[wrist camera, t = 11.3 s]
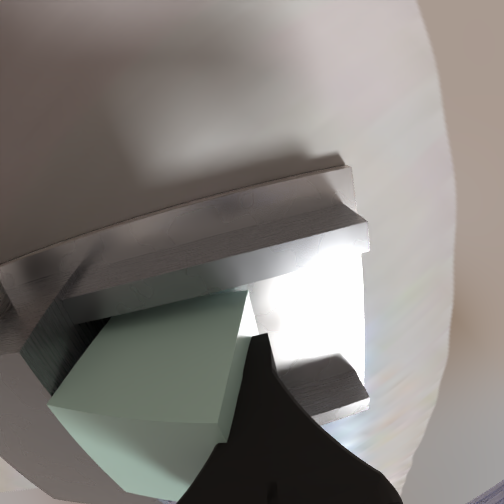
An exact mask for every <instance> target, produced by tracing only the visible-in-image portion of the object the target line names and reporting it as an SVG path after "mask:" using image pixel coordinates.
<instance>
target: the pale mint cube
mask: <svg viewBox="0 0 504 504" xmlns="http://www.w3.org/2000/svg"><path fill="white" fill-rule="evenodd" d="M255 335H259V334H258V329H257V325H256V321H255V317H254V313H253V309H252V305H251V300H250V296H249V292H248V290H244V291H236V292H228V293H220V294H211V295H203V296H198V297H194V298H189V299H185V300H181V301H177V302H173V303H169V304H164V305H160V306H156V307H151V308H147V309H143V310H138V311H134V312H130V313H125V314H121V315H116V316H112V317H111V319H110V320H109V321H108V322H107V324H106V325H105V326H104V327H103V329H102V330H101V331H100V333H99V334H98V335H97V336H96V338H95V339H94V340H93V342H92V343H91V344H90V346H89V347H88V348H87V349H86V351H85V352H84V353H83V355H82V356H81V357H80V359H79V360H78V361H77V363H76V364H75V365H74V367H73V368H72V370H71V371H70V372H69V374H68V375H67V376H66V378H65V379H64V380H63V382H62V383H61V385H60V386H59V387H58V389H57V390H56V392H55V393H54V394H53V396H52V397H51V399H50V400H49V402H48V403H47V404H46V405H47V406H48V407H49V409H50V410H51V411H52V412H53V414H54V415H55V416H56V418H57V419H58V420H59V421H60V423H61V424H62V425H63V426H64V428H65V429H66V430H67V431H68V432H69V434H70V435H71V436H72V437H73V438H74V439H75V441H76V442H77V443H78V444H79V445H80V446H81V447H82V448H83V450H84V451H85V452H86V453H87V454H88V455H89V456H90V457H91V458H92V459H93V460H94V461H95V462H96V463H97V464H98V465H99V466H100V467H101V469H102V470H103V471H104V472H105V473H107V474H108V475H109V476H110V477H111V478H112V479H113V480H114V481H115V482H116V483H117V484H118V485H119V486H120V487H121V488H122V489H123V490H124V491H126V492H129V493H133V494H138V495H143V496H148V497H153V498H158V499H164V500H170V501H177V502H178V501H179V499H180V498H181V497H182V496H183V494H184V493H185V492H186V491H187V489H188V488H189V487H190V485H191V484H192V483H193V481H194V480H195V478H196V477H197V475H198V474H199V472H200V471H201V469H202V468H203V466H204V464H205V463H206V461H207V460H208V458H209V456H210V454H211V453H212V451H213V449H214V447H215V445H216V444H218V443H227V440H228V437H229V433H230V429H231V425H232V421H233V417H234V412H235V408H236V403H237V398H238V394H239V390H240V386H241V382H242V378H243V369H244V365H245V360H246V356H247V351H248V347H249V344H250V340H251V337H252V336H255Z"/></svg>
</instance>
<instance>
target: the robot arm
mask: <svg viewBox="0 0 504 504" xmlns="http://www.w3.org/2000/svg"><path fill="white" fill-rule="evenodd" d="M168 504H403V502H402V500H401V497H400V496H399V494H398V492H397V491H396V489H395V488H394V487H393V486H392V484H391V483H390V482H389V481H388V480H387V478H386V477H385V476H384V475H383V474H382V473H381V472H380V471H378V470H376V469H375V468H373V467H372V466H370V465H368V464H367V463H366V462H364V461H363V460H361V459H360V458H358V457H357V456H355V455H354V454H353V453H351V452H350V451H349V450H347V449H346V448H345V447H344V446H342V445H341V444H340V443H339V442H338V441H336V440H335V439H334V438H333V437H332V436H331V435H330V434H328V433H327V432H326V431H325V430H324V429H323V428H322V427H321V426H320V425H319V424H318V423H317V422H316V421H315V420H314V419H313V418H312V417H311V416H310V415H309V414H308V413H307V412H306V411H305V410H304V409H303V408H302V406H301V405H300V404H299V403H298V402H297V401H296V399H295V398H294V397H293V396H292V394H291V393H290V392H289V390H288V389H287V388H286V386H285V385H284V384H283V382H282V381H281V379H280V378H279V376H278V372H277V368H276V364H275V360H274V356H273V352H272V348H271V344H270V340H269V336H268V333H264V334H260V335H255V336H252V337H251V340H250V344H249V347H248V351H247V356H246V360H245V365H244V369H243V378H242V382H241V386H240V390H239V394H238V398H237V403H236V408H235V412H234V417H233V421H232V425H231V429H230V433H229V437H228V440H227V443H218V444H216V445H215V447H214V449H213V451H212V453H211V454H210V456H209V458H208V460H207V461H206V463H205V464H204V466H203V468H202V469H201V471H200V472H199V474H198V475H197V477H196V478H195V480H194V481H193V483H192V484H191V485H190V487H189V488H188V489H187V491H186V492H185V493H184V494H183V496H182V497H181V498H180V499H179V501H178V502H177V501H170V500H168ZM466 504H504V480H502V481H501V482H499V483H498V484H496V485H495V486H494V487H492V488H491V489H489V490H488V491H486V492H484V493H483V494H481V495H480V496H478V497H477V498H475V499H473V500H472V501H470V502H468V503H466Z"/></svg>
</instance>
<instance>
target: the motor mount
mask: <svg viewBox="0 0 504 504" xmlns="http://www.w3.org/2000/svg"><path fill="white" fill-rule="evenodd" d="M369 251H370V244H369V230H368V221H366V220H365V219H364V218H362V217H361V216H360V215H358V214H357V207H356V198H355V190H354V182H353V174H352V167H350V166H348V165H343V166H338V167H333V168H328V169H323V170H318V171H313V172H309V173H304V174H300V175H295V176H291V177H286V178H282V179H277V180H273V181H269V182H265V183H260V184H256V185H252V186H248V187H244V188H240V189H236V190H232V191H228V192H224V193H221V194H217V195H213V196H209V197H205V198H202V199H198V200H194V201H191V202H187V203H183V204H180V205H176V206H173V207H169V208H166V209H162V210H159V211H156V212H152V213H149V214H145V215H142V216H139V217H136V218H132V219H129V220H126V221H123V222H119V223H116V224H113V225H110V226H107V227H104V228H101V229H98V230H95V231H92V232H89V233H86V234H83V235H80V236H77V237H74V238H71V239H68V240H65V241H62V242H59V243H57V244H54V245H51V246H48V247H45V248H43V249H40V250H37V251H34V252H32V253H29V254H26V255H24V256H21V257H18V258H16V259H13V260H11V261H8V262H6V263H3V264H0V456H1V457H2V458H3V459H4V460H5V461H6V462H7V463H8V464H10V465H11V466H12V467H13V468H14V469H16V470H17V471H18V472H19V473H20V474H22V475H23V476H24V477H25V478H27V479H28V480H29V481H30V482H32V483H33V484H34V485H36V486H37V487H38V488H40V489H41V490H43V491H44V492H45V493H47V494H48V495H50V496H51V497H52V498H54V499H58V500H64V501H71V502H79V503H86V504H168V500H164V499H158V498H153V497H148V496H143V495H138V494H133V493H129V492H126V491H124V490H123V489H122V488H121V487H120V486H119V485H118V484H117V483H116V482H115V481H114V480H113V479H112V478H111V477H110V476H109V475H108V474H107V473H105V472H104V471H103V470H102V469H101V467H100V466H99V465H98V464H97V463H96V462H95V461H94V460H93V459H92V458H91V457H90V456H89V455H88V454H87V453H86V452H85V451H84V450H83V448H82V447H81V446H80V445H79V444H78V443H77V442H76V441H75V439H74V438H73V437H72V436H71V435H70V434H69V432H68V431H67V430H66V429H65V428H64V426H63V425H62V424H61V423H60V421H59V420H58V419H57V418H56V416H55V415H54V414H53V412H52V411H51V410H50V409H49V407H48V406H47V405H46V404H47V403H48V402H49V400H50V399H51V397H52V396H53V394H54V393H55V392H56V390H57V389H58V387H59V386H60V385H61V383H62V382H63V380H64V379H65V378H66V376H67V375H68V374H69V372H70V371H71V370H72V368H73V367H74V365H75V364H76V363H77V361H78V360H79V359H80V357H81V356H82V355H83V353H84V352H85V351H86V349H87V348H88V347H89V346H90V344H91V343H92V342H93V340H94V339H95V338H96V336H97V335H98V334H99V333H100V331H101V330H102V329H103V327H104V326H105V325H106V324H107V322H108V321H109V320H110V319H111V317H112V316H116V315H121V314H125V313H130V312H134V311H138V310H143V309H147V308H151V307H156V306H160V305H164V304H169V303H173V302H177V301H181V300H185V299H189V298H194V297H198V296H203V295H211V294H220V293H228V292H236V291H244V290H248V292H249V296H250V300H251V305H252V309H253V313H254V317H255V321H256V325H257V329H258V334H259V335H260V334H264V333H268V336H269V340H270V344H271V348H272V352H273V356H274V360H275V364H276V368H277V372H278V376H279V378H280V379H281V381H282V382H283V384H284V385H285V386H286V388H287V389H288V390H289V392H290V393H291V394H292V396H293V397H294V398H295V399H296V401H297V402H298V403H299V404H300V405H301V406H302V408H303V409H304V410H305V411H306V412H307V413H308V414H309V415H310V416H311V417H312V418H313V419H314V420H315V421H316V422H317V423H318V424H319V425H323V424H326V423H330V422H333V421H336V420H339V419H342V418H345V417H348V416H351V415H354V414H357V413H360V412H363V411H365V410H368V409H369V399H370V397H369V395H368V393H367V391H366V389H365V388H364V304H363V281H362V264H361V253H365V252H369Z"/></svg>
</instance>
